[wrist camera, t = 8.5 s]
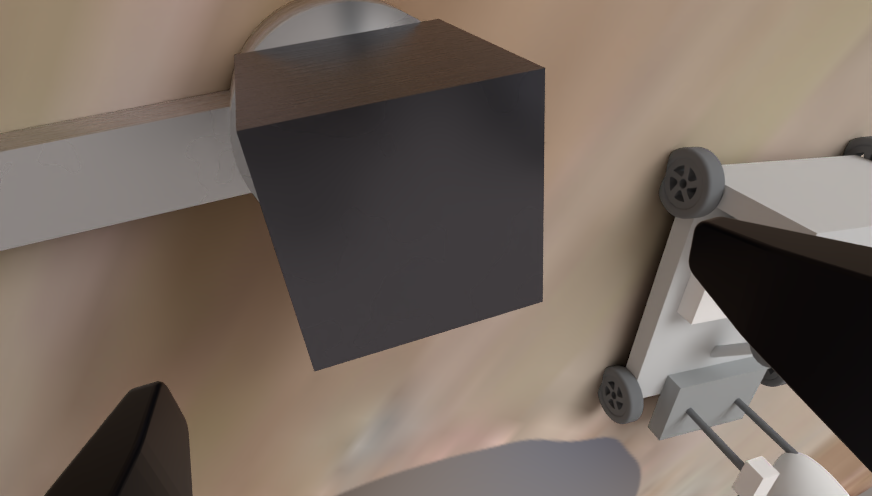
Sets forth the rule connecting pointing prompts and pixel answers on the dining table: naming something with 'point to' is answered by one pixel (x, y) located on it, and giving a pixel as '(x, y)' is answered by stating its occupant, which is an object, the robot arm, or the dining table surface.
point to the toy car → (709, 327)
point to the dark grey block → (396, 181)
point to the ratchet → (152, 144)
